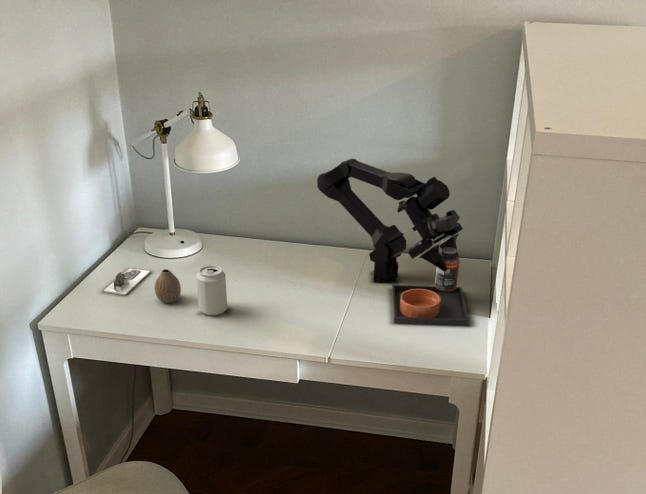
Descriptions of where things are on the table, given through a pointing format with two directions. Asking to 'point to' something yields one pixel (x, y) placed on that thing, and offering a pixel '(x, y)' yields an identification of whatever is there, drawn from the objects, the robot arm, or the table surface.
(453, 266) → the supplement bottle
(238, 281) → the table surface
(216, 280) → the can
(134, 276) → the rock on white stand
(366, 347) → the table surface
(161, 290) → the vase
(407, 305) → the bowl
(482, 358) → the table surface
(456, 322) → the tray
